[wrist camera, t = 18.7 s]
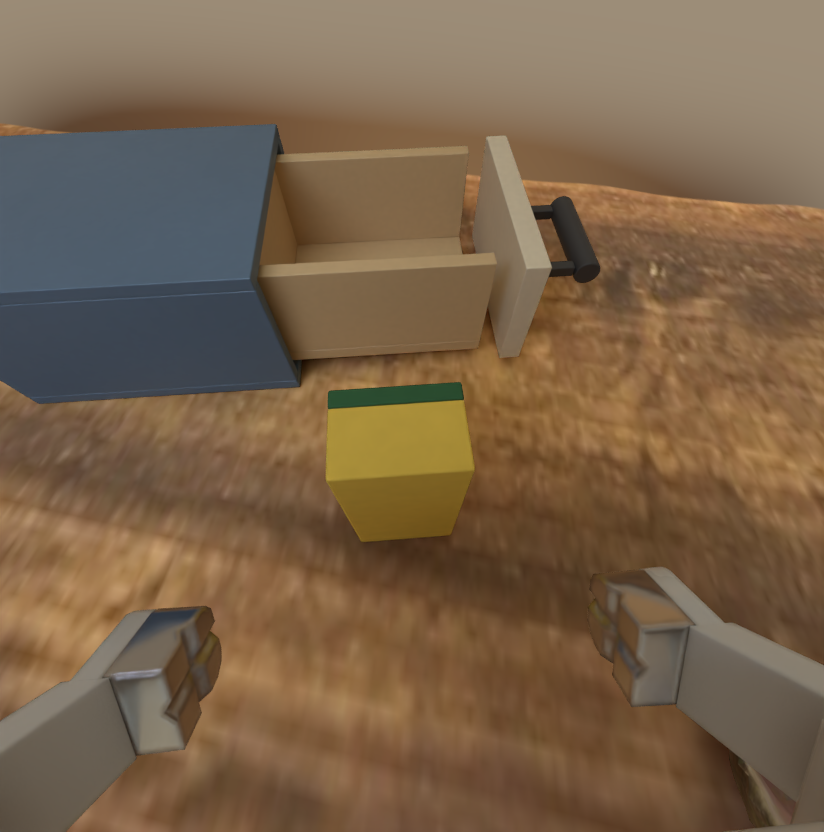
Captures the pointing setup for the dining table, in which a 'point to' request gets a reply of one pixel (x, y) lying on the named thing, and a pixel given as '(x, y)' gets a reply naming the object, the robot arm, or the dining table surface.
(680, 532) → the dining table surface
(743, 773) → the ceramic sculpture
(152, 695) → the robot arm
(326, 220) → the drawer
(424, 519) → the scrub sponge
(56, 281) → the cabinet
